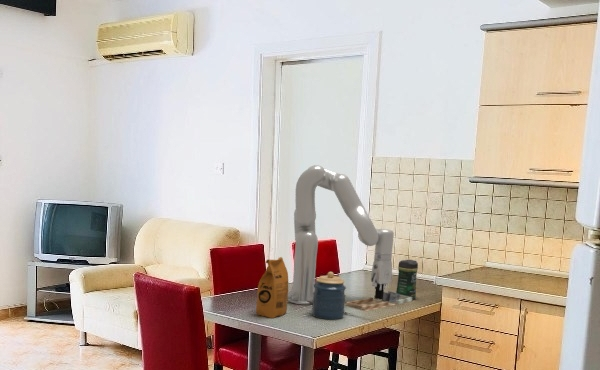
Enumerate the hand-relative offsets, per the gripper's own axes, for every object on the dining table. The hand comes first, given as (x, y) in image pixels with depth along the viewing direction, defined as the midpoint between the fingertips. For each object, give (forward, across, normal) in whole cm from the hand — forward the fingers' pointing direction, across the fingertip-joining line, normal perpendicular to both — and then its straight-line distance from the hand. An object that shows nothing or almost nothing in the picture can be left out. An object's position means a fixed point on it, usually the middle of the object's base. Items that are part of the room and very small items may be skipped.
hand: (378, 298), depth 246 cm
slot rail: (+3, 0, -1) cm, 3 cm away
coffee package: (+5, -51, +16) cm, 53 cm away
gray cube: (+2, +6, -1) cm, 6 cm away
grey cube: (+2, +10, -1) cm, 10 cm away
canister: (+4, -33, +1) cm, 33 cm away
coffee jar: (+3, +25, +1) cm, 25 cm away
